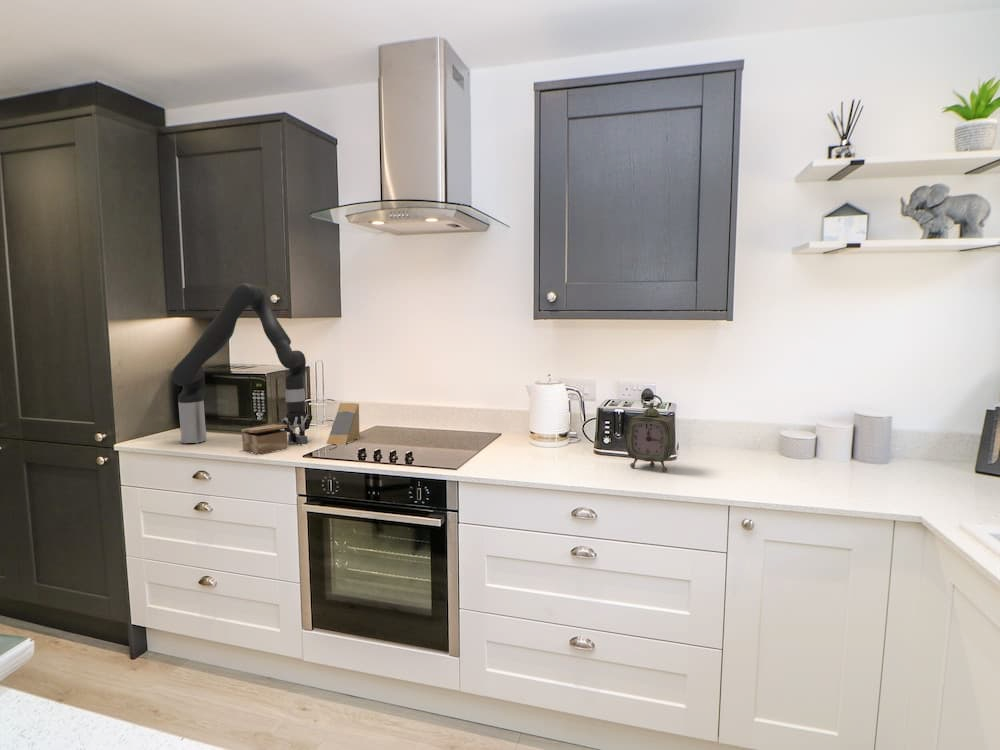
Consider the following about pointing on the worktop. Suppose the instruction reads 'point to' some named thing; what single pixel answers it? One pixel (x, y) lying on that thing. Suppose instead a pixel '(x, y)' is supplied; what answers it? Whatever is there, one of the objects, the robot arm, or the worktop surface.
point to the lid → (263, 428)
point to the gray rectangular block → (299, 439)
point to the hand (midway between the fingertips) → (297, 440)
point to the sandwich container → (345, 424)
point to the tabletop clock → (650, 436)
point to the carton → (265, 441)
